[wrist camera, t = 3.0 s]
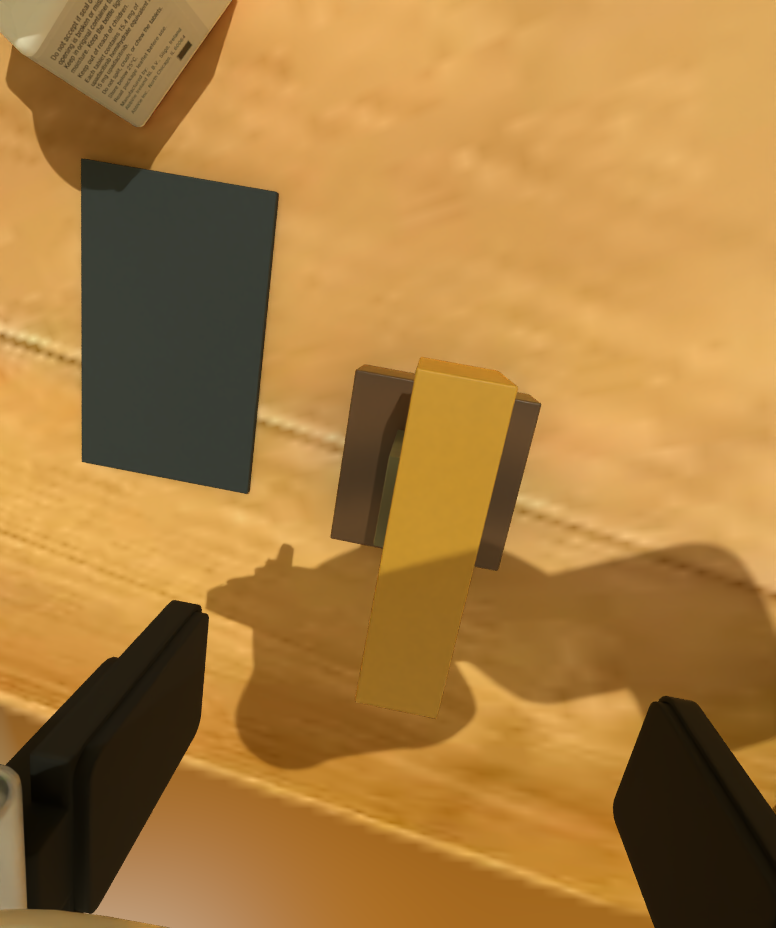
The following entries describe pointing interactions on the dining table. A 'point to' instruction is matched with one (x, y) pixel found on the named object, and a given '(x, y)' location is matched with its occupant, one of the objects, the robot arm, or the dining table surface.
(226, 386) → the mat
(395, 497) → the bar
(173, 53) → the container
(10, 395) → the dining table surface
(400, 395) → the square knob plate
